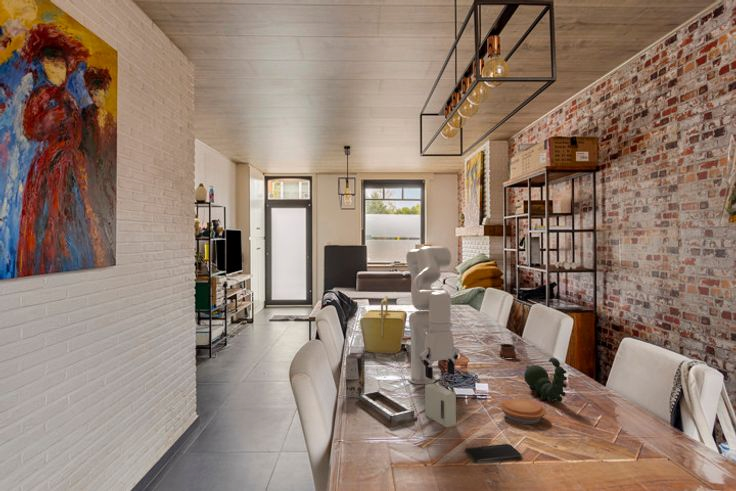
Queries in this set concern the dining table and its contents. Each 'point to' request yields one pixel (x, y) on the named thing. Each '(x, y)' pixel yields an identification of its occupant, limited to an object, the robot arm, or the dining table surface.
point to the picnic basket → (383, 329)
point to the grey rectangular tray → (385, 408)
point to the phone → (493, 453)
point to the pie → (522, 411)
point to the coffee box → (355, 374)
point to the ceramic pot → (507, 351)
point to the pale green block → (440, 405)
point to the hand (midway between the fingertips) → (440, 375)
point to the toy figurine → (546, 381)
